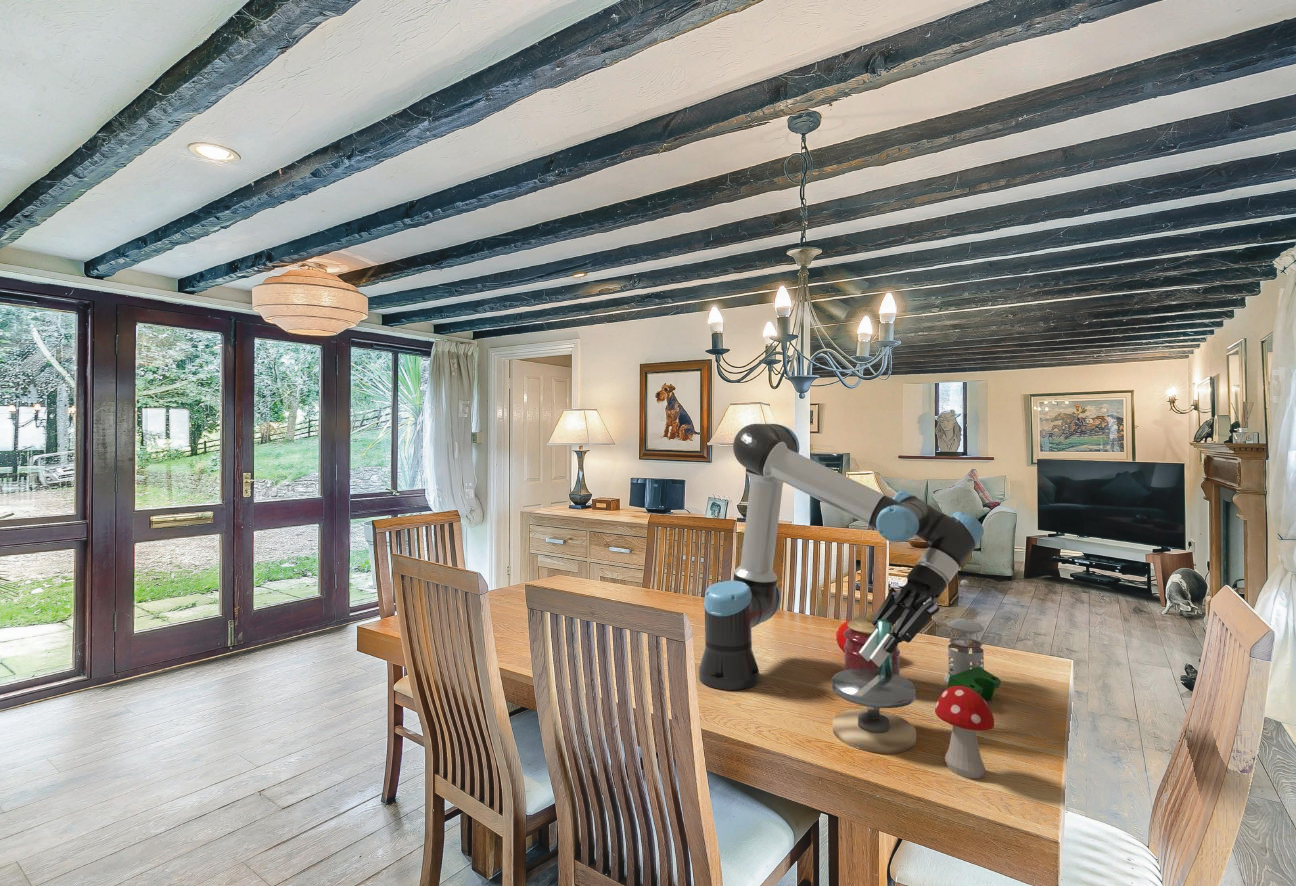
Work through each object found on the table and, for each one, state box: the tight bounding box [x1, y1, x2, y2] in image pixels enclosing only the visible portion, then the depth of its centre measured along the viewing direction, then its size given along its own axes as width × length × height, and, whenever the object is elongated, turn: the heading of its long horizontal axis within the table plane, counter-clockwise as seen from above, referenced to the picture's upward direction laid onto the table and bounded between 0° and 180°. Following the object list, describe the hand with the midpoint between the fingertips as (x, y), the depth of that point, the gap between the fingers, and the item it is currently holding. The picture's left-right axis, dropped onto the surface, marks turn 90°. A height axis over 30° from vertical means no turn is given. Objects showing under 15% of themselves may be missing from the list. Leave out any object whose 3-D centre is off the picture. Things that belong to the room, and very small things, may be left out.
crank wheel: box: [831, 619, 917, 720], centre depth 126 cm, size 16×16×18 cm
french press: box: [943, 579, 985, 684], centre depth 152 cm, size 10×12×25 cm
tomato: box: [835, 616, 856, 654], centre depth 169 cm, size 13×12×11 cm
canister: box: [844, 611, 901, 676], centre depth 151 cm, size 13×13×18 cm
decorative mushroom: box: [934, 686, 995, 780], centre depth 111 cm, size 10×9×15 cm
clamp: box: [946, 667, 1001, 702], centre depth 141 cm, size 12×6×9 cm, turn 115°
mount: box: [832, 708, 917, 755], centre depth 126 cm, size 16×16×3 cm
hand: (869, 659), depth 130 cm, fingers closed on crank wheel, 3 cm apart
